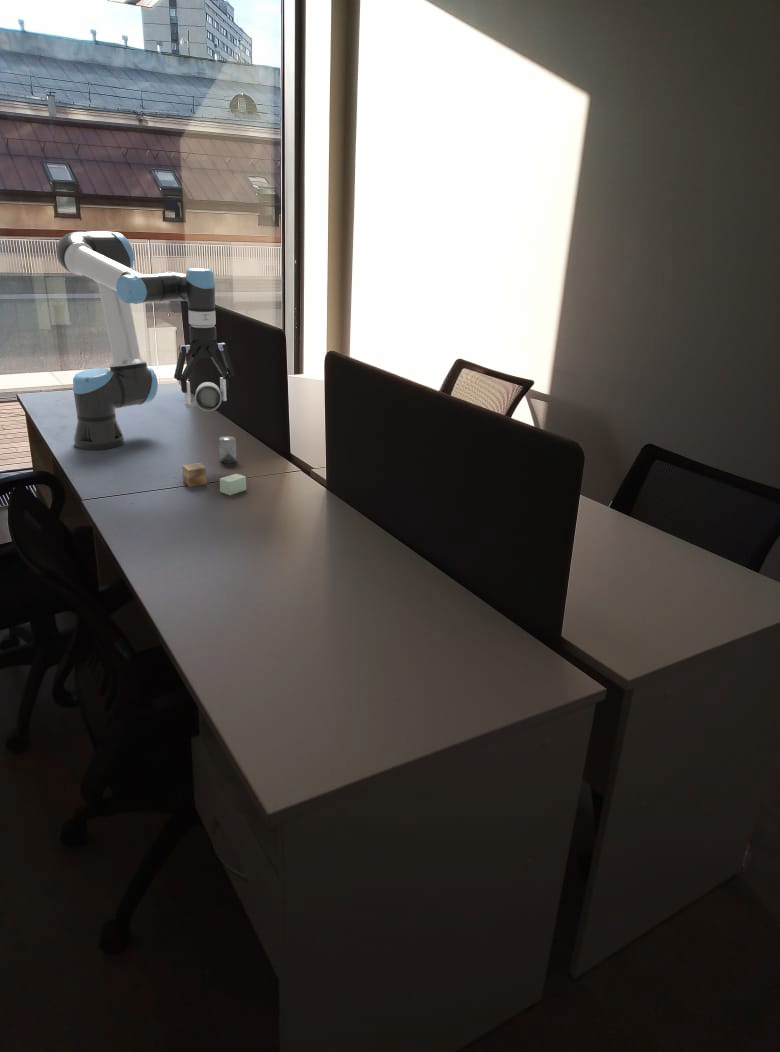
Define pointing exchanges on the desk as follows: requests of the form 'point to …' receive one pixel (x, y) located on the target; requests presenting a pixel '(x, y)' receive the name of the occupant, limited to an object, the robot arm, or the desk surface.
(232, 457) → the dark metal cylinder
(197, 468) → the walnut block
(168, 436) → the desk surface
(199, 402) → the ceramic mug
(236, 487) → the sage green block
